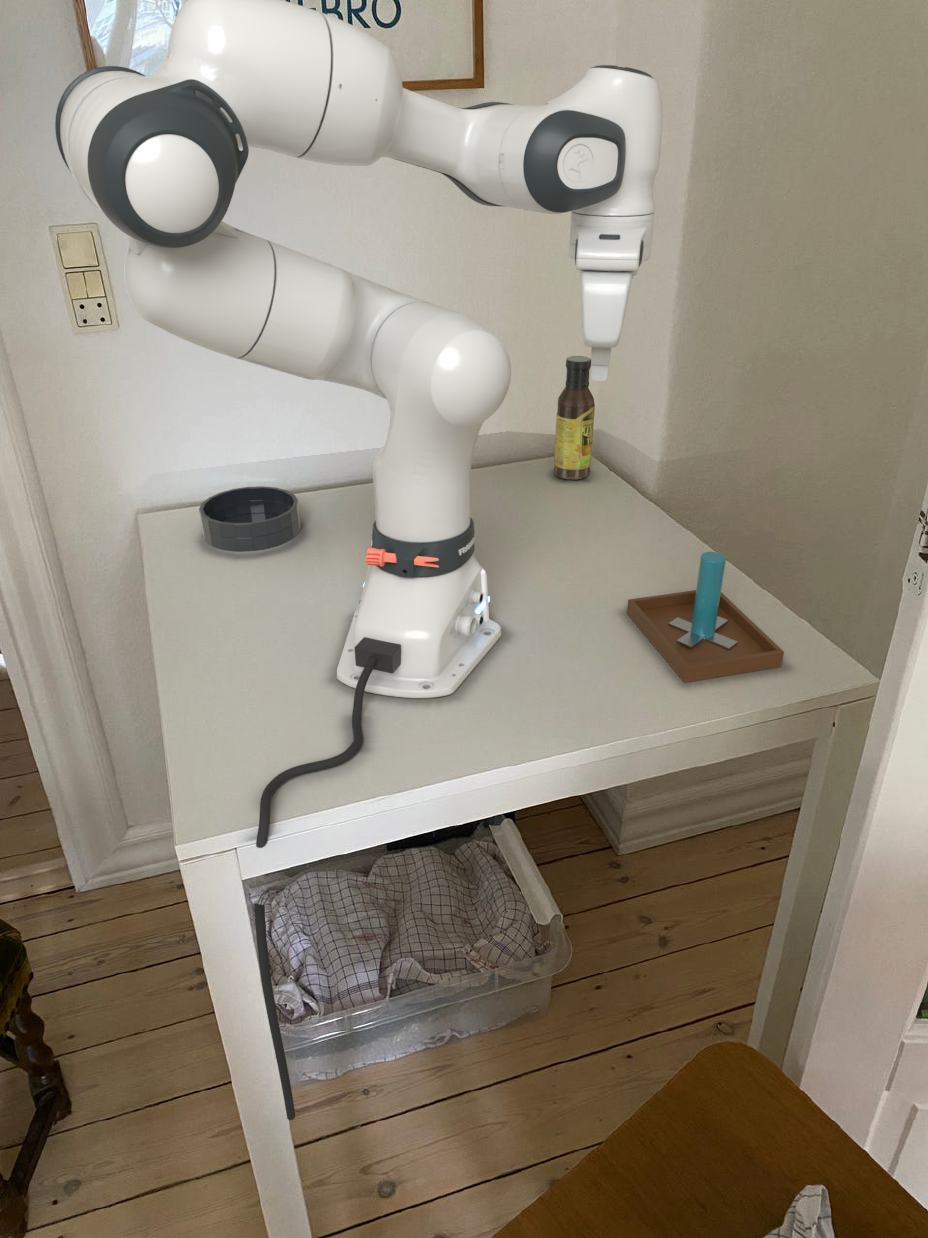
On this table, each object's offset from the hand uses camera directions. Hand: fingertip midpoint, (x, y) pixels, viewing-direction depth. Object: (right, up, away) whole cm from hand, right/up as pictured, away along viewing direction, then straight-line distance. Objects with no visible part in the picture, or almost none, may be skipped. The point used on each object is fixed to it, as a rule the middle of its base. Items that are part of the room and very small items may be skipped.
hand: (600, 368), depth 107 cm
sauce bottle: (+3, -4, +52) cm, 52 cm away
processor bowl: (-47, -16, +32) cm, 59 cm away
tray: (+13, -31, +5) cm, 34 cm away
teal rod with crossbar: (+13, -31, +5) cm, 34 cm away
